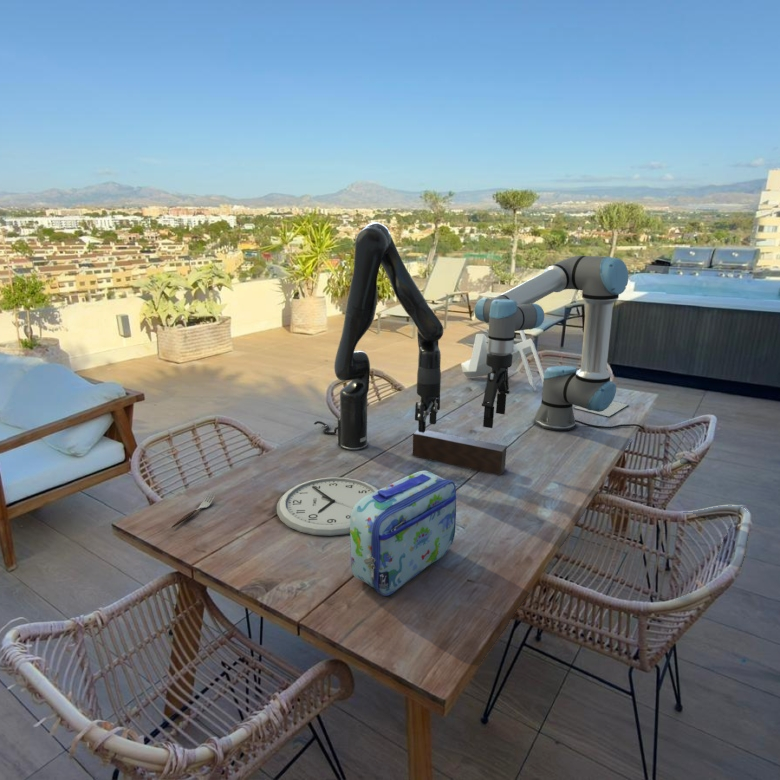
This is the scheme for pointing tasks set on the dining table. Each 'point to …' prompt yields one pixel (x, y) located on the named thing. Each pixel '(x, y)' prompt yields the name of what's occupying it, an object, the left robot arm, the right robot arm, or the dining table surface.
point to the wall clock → (322, 505)
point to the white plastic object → (479, 353)
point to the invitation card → (609, 411)
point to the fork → (203, 505)
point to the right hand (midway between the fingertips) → (494, 420)
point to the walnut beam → (460, 451)
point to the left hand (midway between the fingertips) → (427, 427)
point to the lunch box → (402, 530)
